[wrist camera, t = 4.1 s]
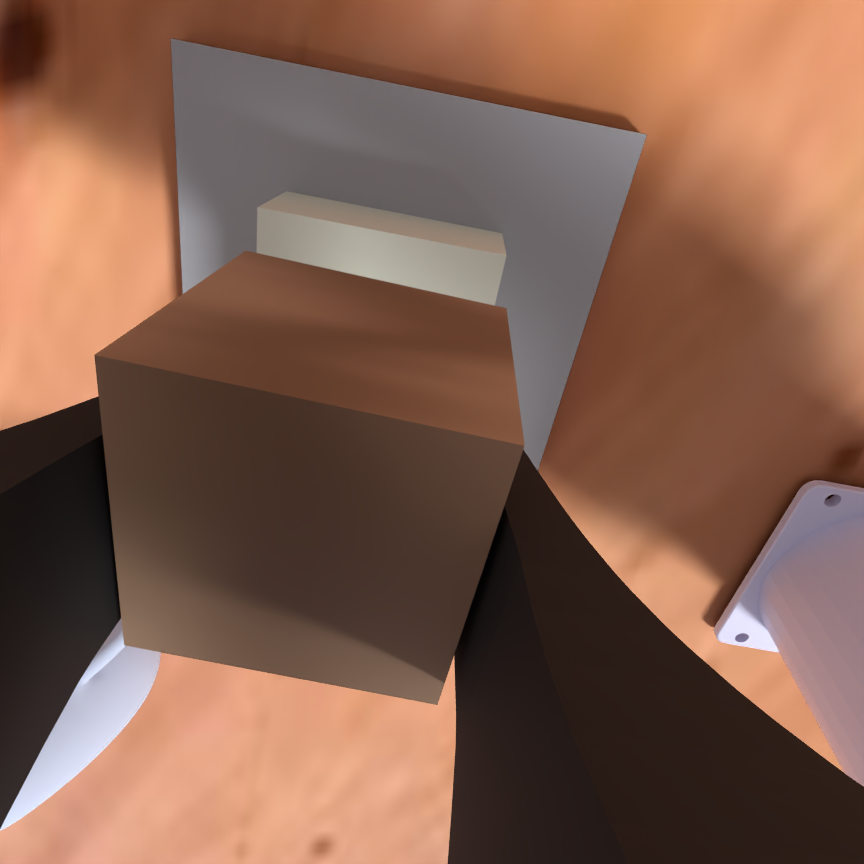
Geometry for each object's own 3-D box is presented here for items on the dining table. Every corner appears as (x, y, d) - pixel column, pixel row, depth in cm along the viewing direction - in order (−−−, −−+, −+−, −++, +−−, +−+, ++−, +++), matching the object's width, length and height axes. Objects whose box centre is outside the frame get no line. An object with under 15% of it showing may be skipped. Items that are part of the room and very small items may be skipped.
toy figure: (150, 451, 21) (-153, 789, 11) (271, 557, 24) (114, 919, 13) (-2, 573, 25) (-334, 910, 15) (115, 654, 27) (-102, 996, 17)
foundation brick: (502, 233, 16) (506, 255, 14) (459, 419, 19) (458, 460, 17) (286, 191, 16) (257, 207, 14) (278, 385, 19) (253, 424, 17)
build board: (640, 133, 15) (647, 134, 15) (524, 496, 21) (526, 506, 21) (181, 40, 15) (170, 38, 14) (196, 437, 21) (189, 446, 20)
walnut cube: (506, 308, 10) (524, 445, 6) (450, 511, 12) (437, 704, 8) (246, 250, 10) (93, 355, 6) (237, 467, 12) (124, 645, 8)
